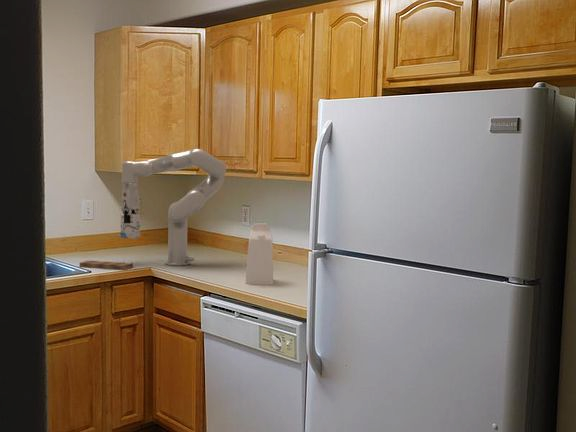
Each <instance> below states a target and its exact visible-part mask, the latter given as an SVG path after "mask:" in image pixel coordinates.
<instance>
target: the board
mask: <svg viewBox="0 0 576 432" xmlns="http://www.w3.org/2000/svg"><path fill="white" fill-rule="evenodd" d="M80 267H81V268H90V269H105V270H119V271H120V270H121V271H127V270H130V269H132V268H134V263H133V262H120V261H119V262H118V261H106V260H93V259H92V260H91V259H90V260H88V259H87V260H84V261H80V262H79V268H80Z"/></svg>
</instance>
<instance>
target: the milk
mask: <svg viewBox="0 0 576 432" xmlns="http://www.w3.org/2000/svg"><path fill="white" fill-rule="evenodd" d="M273 242H274V241H273V235H272V231H271V228H270V226H269V223H268V222H267V223H264V222H263V223H260V222H257V223H256V222H255V223H254V224H253V225H252V228H251V230H250V234H249V239H248V244H247V259H246V271H245V272H246V273H245V285H267V286H268V285H271V286H274V254H273V253H274V249H273V248H274V245H273Z"/></svg>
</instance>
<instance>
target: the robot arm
mask: <svg viewBox="0 0 576 432" xmlns="http://www.w3.org/2000/svg"><path fill="white" fill-rule="evenodd" d="M193 167H197V168H199V169H200V170H201V171H203V172H206V173H207V174H208V175H207V177H206V178H204V180H203V181H202V182H200V183H199V184H198V185H196V186H195V187H194V188H192V189H191V190H189V191H188V192H187V193H186V195H184V196H183V197H182V198H180V199H179V200H178V201H174V202H173V203H171V204H169V208H168V212H167V214H168V215H167V216H168V222H167V223H168V229H167V230H168V234H167V237H168V238H167V240H168V242H167V260H165V261H164V264H165V265H167V266H187V265H190V264H191V262H195V257H193V256H191V257H190V255H189V254H188V223H189V221H188V219H189V218H190V217H191V216H192V215H194V214H196V213H197V212H198V211H199V210H200V209H202V208H203V207H204V205H205V204H206V201H208V200H209V199H210V198H211V197H212V196H214V195H215V194H216V193H218V191H220V189H221V188H222V186H223V184H224V182H225V177H226V172H227V166H226V164H225V162H223V161H222V160H221V159H219V158H217V157H215V156H213V155H212V154H210V153H208V152H207V151H205V150H203V149H201V148H193V149H188V150H184V151H180V152H175V153H171V154H167V155H165V156H160V157H157V158H152V159H148V160H142V161H133V160H124V161H122V163H121V189H122V191H121V208H120V209H121V211H122V214H123V215H124V223H130V215H129V214H138V210H139V208H140V194H139V188H138V186H139V184H138V179H139V178H138V176H142V177H149V176H151V175H155V174H160V173H165V172H175V171H181V170H184V169H188V168H193Z"/></svg>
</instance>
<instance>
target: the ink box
mask: <svg viewBox="0 0 576 432" xmlns="http://www.w3.org/2000/svg"><path fill="white" fill-rule="evenodd" d="M129 215H130V223H124V215H123V213H122V214H120V238H124V239H137V238H140V237H141V215H140V214H138V213H137V214H131V213H130V214H129Z"/></svg>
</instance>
